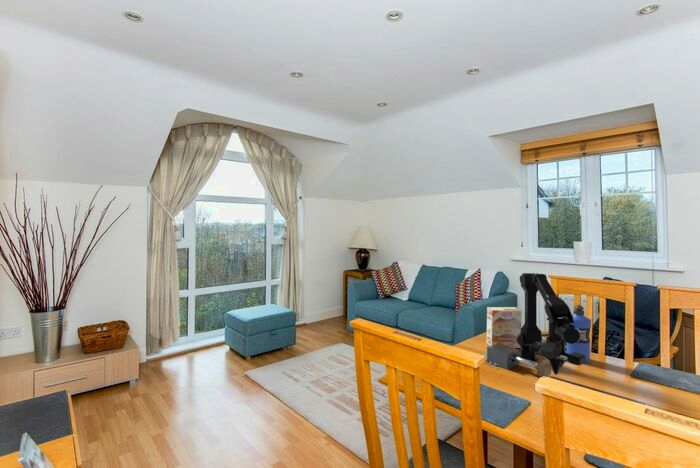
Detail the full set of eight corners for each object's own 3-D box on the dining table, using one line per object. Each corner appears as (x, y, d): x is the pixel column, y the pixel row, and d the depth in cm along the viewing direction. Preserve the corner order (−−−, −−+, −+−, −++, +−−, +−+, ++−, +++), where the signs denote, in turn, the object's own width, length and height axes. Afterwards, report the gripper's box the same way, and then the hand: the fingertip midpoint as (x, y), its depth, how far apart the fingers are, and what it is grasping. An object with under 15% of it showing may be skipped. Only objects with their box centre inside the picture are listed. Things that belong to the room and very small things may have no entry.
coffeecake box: (491, 349, 174) (492, 310, 173) (486, 344, 181) (486, 306, 180) (521, 348, 174) (522, 310, 173) (514, 343, 181) (515, 306, 181)
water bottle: (565, 354, 166) (566, 302, 166) (589, 358, 162) (590, 304, 161) (566, 361, 158) (567, 306, 158) (591, 365, 154) (592, 308, 153)
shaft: (509, 360, 156) (509, 348, 156) (550, 374, 141) (550, 362, 140) (502, 362, 153) (502, 351, 153) (544, 377, 138) (544, 365, 138)
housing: (499, 357, 162) (499, 343, 162) (519, 364, 154) (519, 349, 154) (486, 361, 157) (487, 346, 157) (507, 369, 149) (507, 353, 149)
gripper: (522, 332, 139) (521, 370, 140) (572, 345, 124) (571, 389, 124) (537, 327, 145) (536, 364, 146) (587, 340, 130) (586, 381, 130)
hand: (556, 374), depth 136 cm, fingers closed
